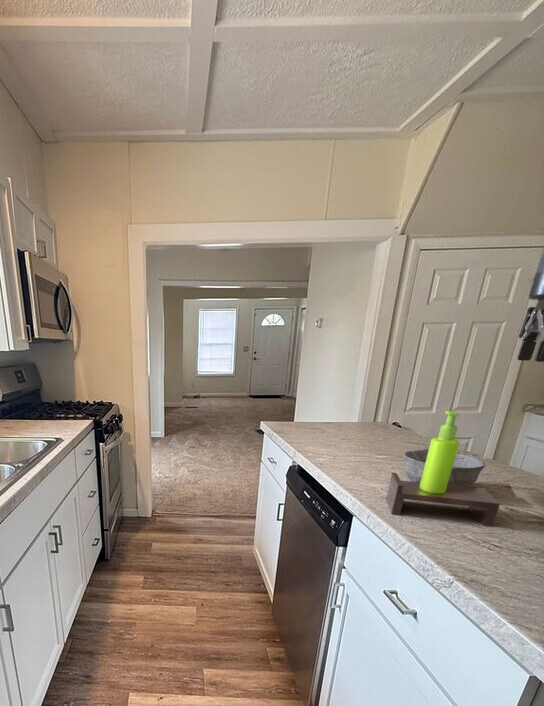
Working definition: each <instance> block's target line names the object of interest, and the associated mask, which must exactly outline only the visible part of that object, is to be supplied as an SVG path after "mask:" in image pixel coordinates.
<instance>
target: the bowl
mask: <svg viewBox="0 0 544 706" xmlns="http://www.w3.org/2000/svg"><path fill="white" fill-rule="evenodd" d="M428 451H429V449H418V450H413V451H412V450H408V451H405V452H404V453H403V460H404V467H403V472H404V474H405V475H406V476H407V478H408V479H409V481H412V482H421V478H422V474H423V471H424V467H425V463H426V459H427V455H428ZM486 465H487V464H486V462H484V461H482V460H480V459H478V458H475V457H472V456H469V455H466V454H462V453H456V457H455V460H454V463H453V467H452V470H451V474H450V477H449V481H448V484H447V485H453V486H463V487H471V485H473V484H474V483H476V481H477V480H478V478H479V476H480V473H481V472H482V471H483V470H484V468H485V467H486Z"/></svg>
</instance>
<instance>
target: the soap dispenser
mask: <svg viewBox="0 0 544 706" xmlns="http://www.w3.org/2000/svg"><path fill="white" fill-rule="evenodd" d="M444 414H446V415H447V417H446V421H445V423H444V424H442V425H441V426H440V428H439V432H438V436H437V437H434V438H433V437H432V438H431V440H430V444H429V448H428V450H429V451H428V455H427V459H426V463H425V467H424V471H423V474H422V478H421V482H420V486H419V488H420V489H421V490H423V491H426V492H430V493H445V491H446V488H447V484H448V481H449V477H450V474H451V470H452V467H453V463H454V460H455V457H456V453H457V452H458V450H459V446H460V442H461V441H459V440H457V439H455V437H456V434H457V430H458V426H456V424H455V423H456V419H457V418H458V417H459V414H460V413H458V412H457V411H455V410H445V412H444ZM457 454H458V453H457Z"/></svg>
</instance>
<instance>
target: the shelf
mask: <svg viewBox="0 0 544 706" xmlns="http://www.w3.org/2000/svg"><path fill="white" fill-rule="evenodd" d="M419 486H420V482H412V481H411V480H401V478H400V477H399V475H398V472H391V475H390V479H389V483H388V488H387V493H386V497H385V500H386V503H387V506H388V508H389V511H390V514H391V515H397V516H401V513H402V508H403V506H404V505H403V504H404V500H409V501H417V502H427V503H435V504H444V505H454V506H463V507H468V510H469V511H470V512H471V514H472V515H474V518H476V520H477V521H478V522H479V523H480V524H481V525H482V526H486V527H493V525H494V523H495V520H496V517H497V514H498V512H499V508H500V505H501V503H500V502H499V501H498V500H497V499H495V498H494V497H493V495H491V493H489V492H488V491H487V490H486V489H485V488H482V487H474V486H473V487H472V486H468V487H463V486H453V485H447V488H446V491H445V493H430V492H426V491H423V490H421V489H420V488H419Z"/></svg>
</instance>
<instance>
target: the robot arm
mask: <svg viewBox="0 0 544 706" xmlns="http://www.w3.org/2000/svg"><path fill="white" fill-rule="evenodd" d="M530 287H531V288H530V290H529V293H528V299H529V300H534V301H536V300H537V303H536V306H529V307H528V308H527V309H526V313H525V316H524V319H523V323H522V326H521V328H520V330H519V331H520V332H519V334H518V339H520V341H521V345H520V348H519V351H518V355H517V358H516V359H517V361H530V360H532V357H533V355H534V351H535V350H536V346H537V341H538V340H539V338H541V339H540V340H541V341H540V342H539V345H538V348H537V351H536V354H535V357H534V361H535V362H538V363H542V362H543V363H544V251H543V252H542V254H541V256H540V259H539V262H538V265H537V268H536V271H535V274H534V278H533V281H532V284H531V286H530ZM540 336H541V337H540Z"/></svg>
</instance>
